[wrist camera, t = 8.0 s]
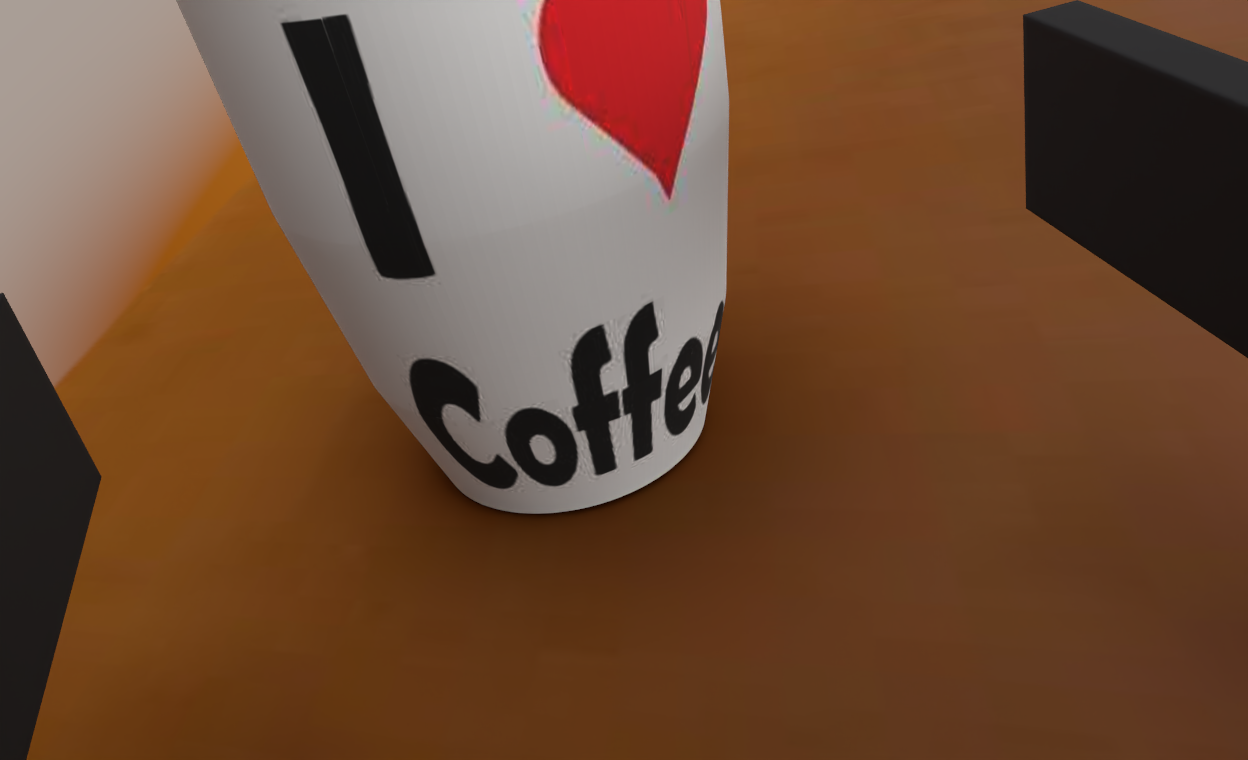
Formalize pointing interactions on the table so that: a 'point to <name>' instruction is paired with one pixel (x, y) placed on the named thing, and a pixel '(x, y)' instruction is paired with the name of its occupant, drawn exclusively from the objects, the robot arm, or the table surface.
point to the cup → (501, 218)
